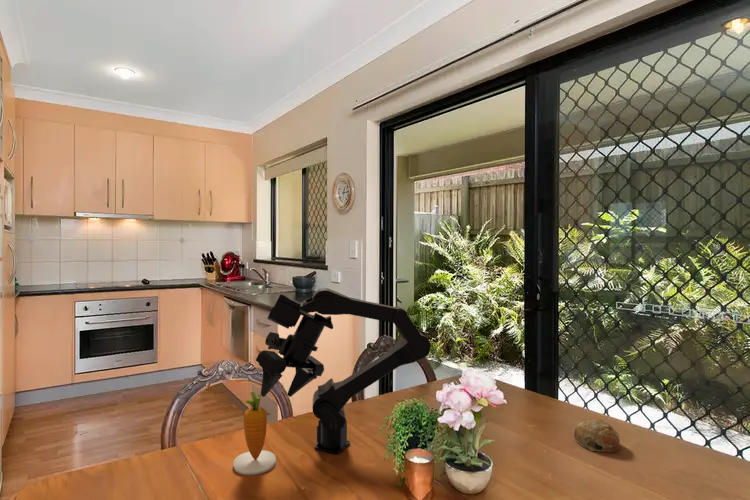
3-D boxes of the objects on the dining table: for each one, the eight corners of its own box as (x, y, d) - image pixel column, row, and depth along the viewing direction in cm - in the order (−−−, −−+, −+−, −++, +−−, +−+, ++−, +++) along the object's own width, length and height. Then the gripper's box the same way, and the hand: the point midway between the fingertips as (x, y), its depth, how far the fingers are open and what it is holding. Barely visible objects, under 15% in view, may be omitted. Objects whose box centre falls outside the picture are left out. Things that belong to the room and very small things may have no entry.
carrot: (266, 464, 96) (266, 395, 95) (242, 466, 95) (242, 397, 94) (267, 453, 101) (267, 388, 100) (245, 455, 100) (244, 389, 99)
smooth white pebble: (283, 459, 100) (283, 455, 100) (257, 478, 92) (257, 474, 92) (252, 451, 104) (252, 447, 104) (224, 468, 95) (224, 464, 95)
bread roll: (574, 460, 108) (575, 436, 105) (573, 427, 117) (574, 405, 113) (620, 468, 105) (622, 444, 101) (615, 434, 113) (617, 410, 110)
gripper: (308, 326, 117) (281, 379, 117) (258, 316, 102) (227, 376, 102) (337, 347, 111) (309, 402, 111) (288, 339, 96) (255, 403, 95)
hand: (276, 395), depth 105 cm, fingers open, 9 cm apart
